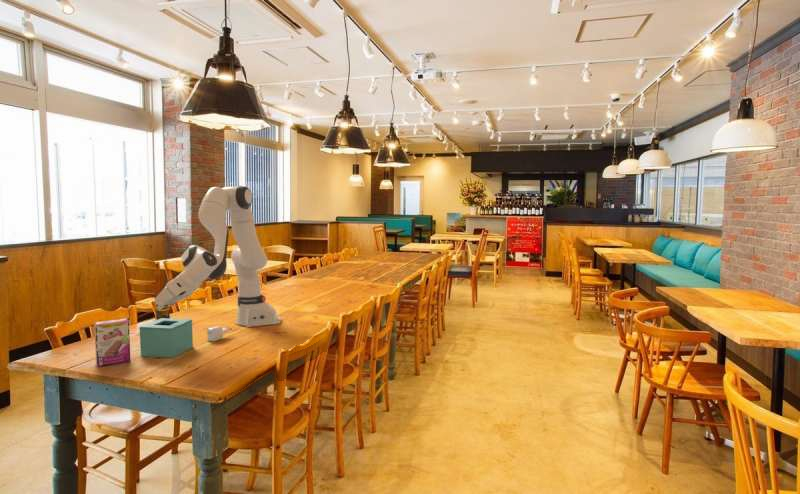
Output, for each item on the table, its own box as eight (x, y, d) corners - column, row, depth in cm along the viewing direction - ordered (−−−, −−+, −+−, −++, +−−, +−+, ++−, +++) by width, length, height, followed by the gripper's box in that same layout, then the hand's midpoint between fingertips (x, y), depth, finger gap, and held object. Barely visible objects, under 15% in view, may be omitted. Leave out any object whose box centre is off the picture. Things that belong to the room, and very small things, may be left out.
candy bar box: (97, 367, 173) (94, 325, 171) (95, 363, 177) (93, 322, 175) (131, 361, 180) (129, 320, 178) (129, 358, 184) (127, 317, 182)
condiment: (171, 327, 227) (170, 304, 226) (152, 330, 223) (151, 306, 221) (169, 324, 233) (168, 301, 232) (151, 326, 229) (149, 303, 227)
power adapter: (226, 334, 217) (226, 322, 216) (233, 336, 214) (233, 323, 214) (206, 340, 207) (205, 328, 207) (213, 342, 205) (213, 329, 204)
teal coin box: (192, 346, 198) (191, 319, 197) (173, 357, 185) (171, 328, 183) (162, 345, 200) (161, 318, 199) (140, 355, 186) (139, 326, 185)
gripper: (194, 274, 199) (174, 296, 201) (165, 283, 179) (142, 306, 181) (204, 285, 199) (184, 306, 201) (176, 294, 178) (153, 318, 181)
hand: (164, 306), depth 191 cm, fingers open, 6 cm apart
